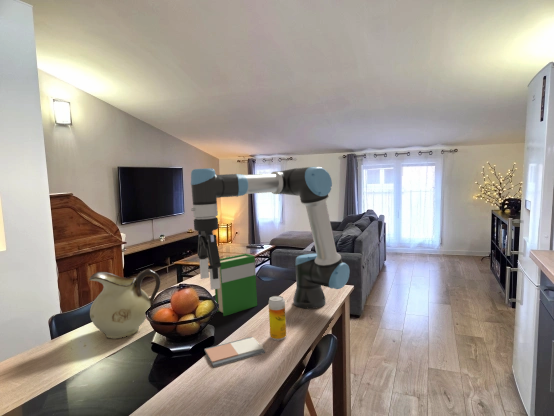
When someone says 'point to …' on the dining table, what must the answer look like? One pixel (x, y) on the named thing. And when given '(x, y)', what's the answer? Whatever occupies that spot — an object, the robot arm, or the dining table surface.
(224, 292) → the hardback book
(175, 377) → the dining table surface
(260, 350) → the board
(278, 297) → the yellow bottle
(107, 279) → the pitcher
